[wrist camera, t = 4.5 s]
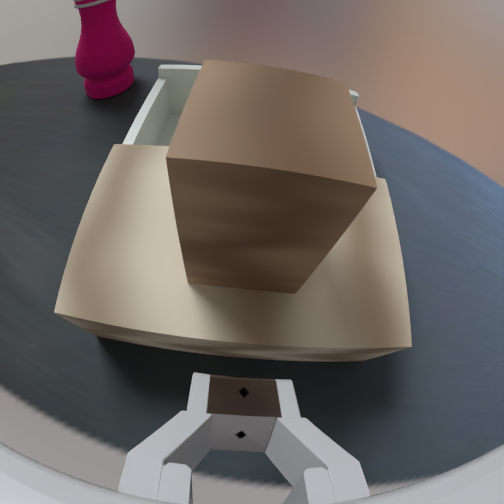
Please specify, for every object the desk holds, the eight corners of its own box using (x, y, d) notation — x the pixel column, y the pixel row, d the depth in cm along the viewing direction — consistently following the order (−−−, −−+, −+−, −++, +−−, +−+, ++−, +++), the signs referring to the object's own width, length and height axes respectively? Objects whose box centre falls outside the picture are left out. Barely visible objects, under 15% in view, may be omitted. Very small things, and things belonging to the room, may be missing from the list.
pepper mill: (137, 93, 28) (127, -68, 10) (79, 108, 26) (48, -45, 9) (138, 67, 31) (132, -67, 13) (87, 79, 29) (67, -50, 12)
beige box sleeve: (96, 335, 17) (54, 312, 12) (131, 198, 22) (114, 144, 17) (361, 361, 18) (411, 346, 13) (352, 224, 23) (385, 179, 18)
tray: (131, 198, 22) (114, 144, 17) (164, 113, 27) (160, 64, 21) (352, 224, 23) (385, 179, 18) (337, 136, 28) (357, 92, 23)
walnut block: (187, 282, 13) (165, 157, 6) (202, 194, 16) (204, 59, 8) (295, 294, 14) (377, 188, 7) (294, 206, 16) (346, 82, 9)
